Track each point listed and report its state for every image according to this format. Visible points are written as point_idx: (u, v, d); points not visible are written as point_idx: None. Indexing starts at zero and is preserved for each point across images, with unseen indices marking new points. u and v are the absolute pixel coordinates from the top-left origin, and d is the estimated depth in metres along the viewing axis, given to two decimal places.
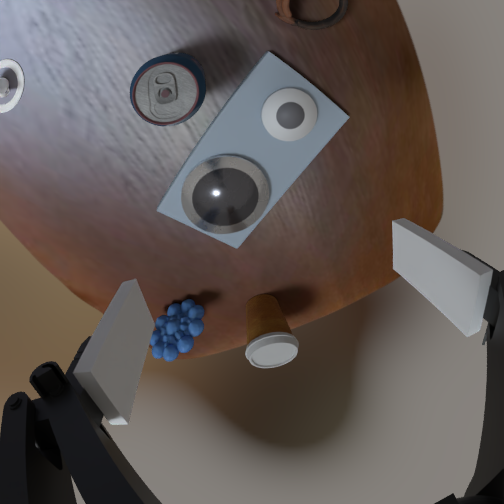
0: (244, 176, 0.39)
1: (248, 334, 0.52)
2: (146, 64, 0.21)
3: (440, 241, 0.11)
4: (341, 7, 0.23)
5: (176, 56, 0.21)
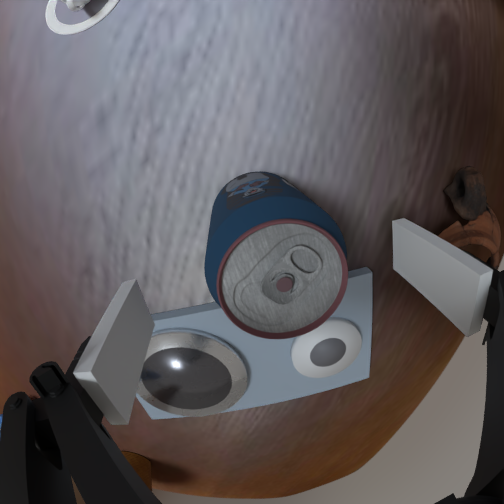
0: (226, 377, 0.27)
1: None
2: (298, 204, 0.13)
3: (440, 241, 0.11)
4: None
5: (341, 234, 0.14)
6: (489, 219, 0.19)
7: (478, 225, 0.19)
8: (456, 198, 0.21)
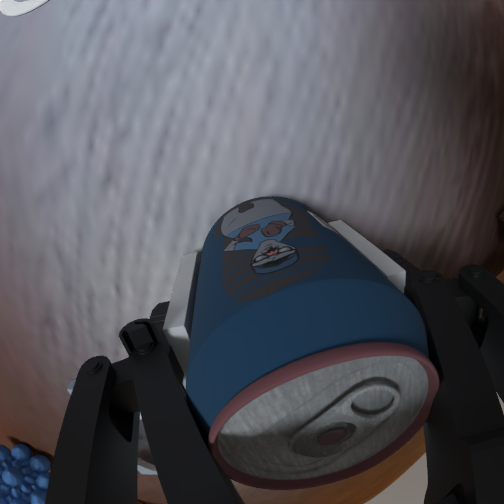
0: None
1: None
2: (371, 297, 0.06)
3: (364, 242, 0.12)
4: None
5: (425, 333, 0.07)
6: None
7: None
8: None
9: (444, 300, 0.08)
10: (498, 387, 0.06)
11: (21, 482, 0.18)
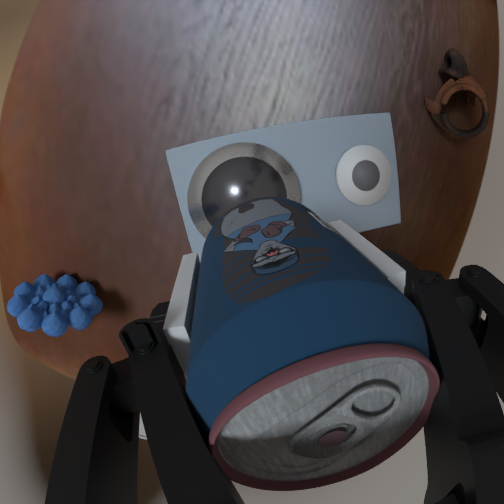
0: (282, 193, 0.31)
1: None
2: (371, 298, 0.06)
3: (364, 242, 0.12)
4: (477, 129, 0.27)
5: (426, 334, 0.07)
6: (473, 80, 0.24)
7: (465, 81, 0.24)
8: (447, 69, 0.26)
9: (444, 300, 0.08)
10: (498, 387, 0.06)
11: (63, 300, 0.29)
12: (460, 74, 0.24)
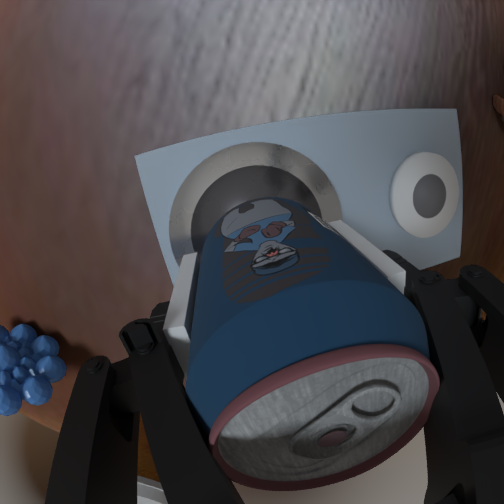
0: None
1: None
2: (371, 299, 0.06)
3: (364, 242, 0.12)
4: None
5: (426, 334, 0.07)
6: None
7: None
8: None
9: (444, 300, 0.08)
10: (498, 387, 0.06)
11: (15, 364, 0.18)
12: None
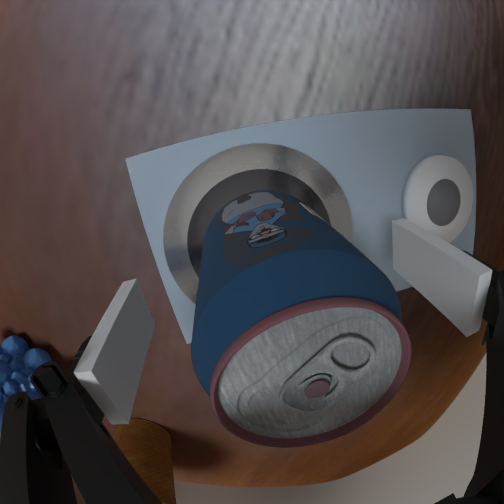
0: None
1: None
2: (345, 264, 0.07)
3: (440, 241, 0.11)
4: None
5: (399, 302, 0.08)
6: None
7: None
8: None
9: None
10: None
11: (5, 379, 0.16)
12: None
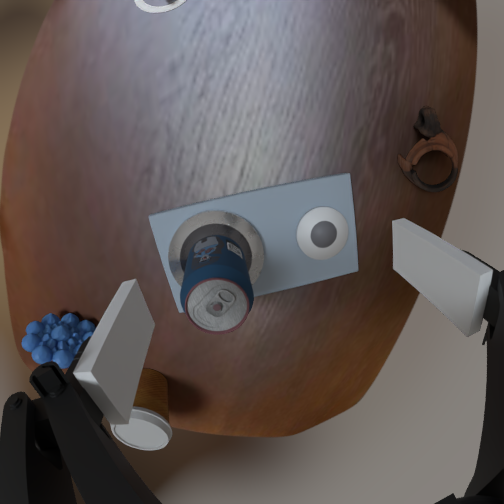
0: (248, 253, 0.38)
1: None
2: (223, 269, 0.26)
3: (440, 241, 0.11)
4: (446, 183, 0.34)
5: (248, 282, 0.27)
6: (444, 137, 0.31)
7: (437, 140, 0.32)
8: (420, 127, 0.33)
9: None
10: None
11: (69, 337, 0.35)
12: (432, 133, 0.32)
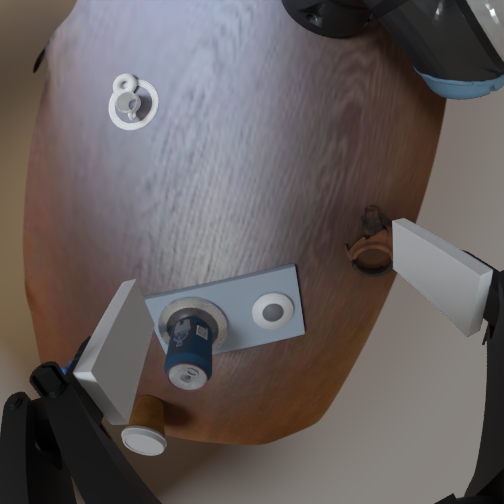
0: (215, 326, 0.50)
1: (133, 419, 0.50)
2: (190, 355, 0.39)
3: (440, 241, 0.11)
4: (384, 270, 0.46)
5: (207, 362, 0.40)
6: (385, 234, 0.43)
7: (376, 238, 0.43)
8: (365, 223, 0.45)
9: None
10: None
11: None
12: (372, 232, 0.43)
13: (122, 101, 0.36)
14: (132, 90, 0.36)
